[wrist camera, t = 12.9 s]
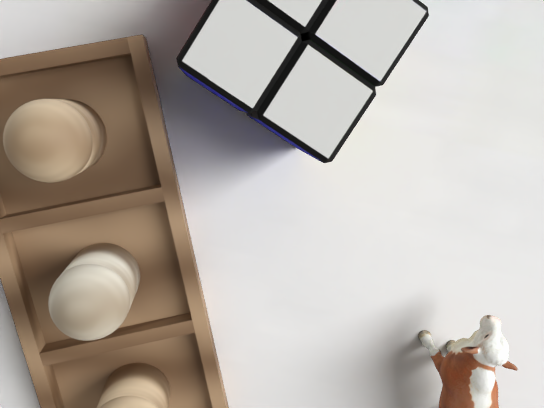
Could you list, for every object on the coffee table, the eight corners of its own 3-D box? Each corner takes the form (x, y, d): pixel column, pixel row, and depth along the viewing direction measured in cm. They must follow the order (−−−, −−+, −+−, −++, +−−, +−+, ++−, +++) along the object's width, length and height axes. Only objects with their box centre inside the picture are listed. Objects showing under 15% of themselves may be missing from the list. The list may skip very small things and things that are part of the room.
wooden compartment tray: (-50, 71, 34) (-65, 70, 32) (145, 38, 35) (142, 34, 33) (72, 468, 41) (65, 487, 39) (233, 430, 42) (234, 446, 40)
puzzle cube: (182, 73, 36) (172, 63, 26) (259, -54, 35) (279, -113, 25) (299, 150, 38) (330, 167, 28) (375, 32, 37) (435, 8, 27)
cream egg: (59, 254, 37) (23, 291, 30) (127, 234, 37) (107, 267, 30) (83, 315, 38) (54, 365, 31) (149, 296, 38) (134, 341, 31)
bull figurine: (468, 285, 42) (528, 328, 34) (464, 431, 45) (520, 503, 37) (416, 290, 41) (465, 335, 34) (416, 438, 44) (461, 512, 36)
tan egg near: (22, 106, 35) (-24, 107, 28) (96, 92, 35) (69, 91, 28) (42, 178, 36) (3, 196, 29) (114, 164, 36) (92, 179, 29)
